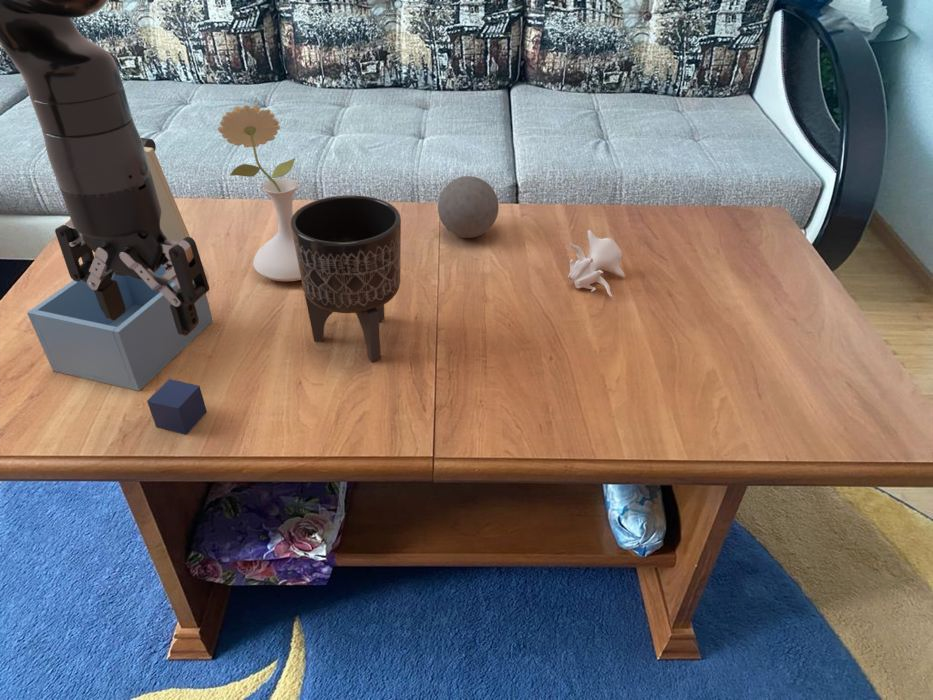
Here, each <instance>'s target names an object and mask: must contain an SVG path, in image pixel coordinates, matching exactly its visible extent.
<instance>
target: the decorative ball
mask: <svg viewBox="0 0 933 700" xmlns="http://www.w3.org/2000/svg"><path fill="white" fill-rule="evenodd" d="M437 213H438V216H439V220H440V221H441V223H442V225H443V227H444V228H445V229H446V230H447V231H449V233H451V234H453V236H456V237H460V238H464V239H475V238H477V237H480V236H482V235H484V234H485V233H487V232H489V230H491V228H492V227H493V226H494V224H495V222H496V220H497V218H498V215H499V199H498V196H497V193H496V192H495V190H494V188H493V187H492V186H491V185H490V184H489V183H488V182H487V181H485V180H484V179H482V178H480V177H478V176H473V175H464V176H460V177H457V178H455V179H453V180H451V181H450V182H448V184H446V185H445V187H444V188H443V190H442V191H441V193H440V195H439V198H438V203H437Z"/></svg>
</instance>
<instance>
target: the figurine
mask: <svg viewBox="0 0 933 700" xmlns="http://www.w3.org/2000/svg"><path fill="white" fill-rule="evenodd" d="M587 239H588V245H589V246H588V247H589V248H588V249H589V251H588V254H587V257H586V254H585V253H584V252H583V249H581V247H580V246H578V245H576V244H573V243H572V242H571V241H569V246H570V247H571V248H572V249H574V250H575V251H576V252H577V253H575V254H576V257H577V258H578V259H577V260H576V261H575V262H574V258H571V259H570V261H569V263H568V264H569V273H568V275H567V278H568V279H569V280H571V281H572V282H573V283H574V287H575V288H576V289H582V288H583V289H586V290H590V293H592V292H594V291H596V287H595V286H593V285H592V284H594V283H597V284H598V285H602V286H603V287H604V288H605V290H606V292H607V295H608V296H609V297H611V298H612V297H613V294H612V292H611V286H610V284H609V282H607V281H606V280H605V279H604V277H602V276H601V275H602V274H604V271H605V272H609V273H612V274H614V275H616V276H618V277H621V278H625V277H626V274H625V272H624V271H623V270H622V268H621V261H622V259H623V252H622V249H621V248H620V247H619V245H618V244H617V243H616V241H614V240H613V239H612V238H610V237H604V238H600V237H597V236H596V235H595V233H594V232H593V231H592V230H590V229H588V230H587Z"/></svg>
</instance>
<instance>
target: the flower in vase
mask: <svg viewBox="0 0 933 700" xmlns="http://www.w3.org/2000/svg"><path fill="white" fill-rule="evenodd" d="M275 116H276V115H275V114H274V113H272V111H271V109H261V107H260V106H259V105H258V104H254V105H252V106H251V107H250V105H248V104H244V105H243V106H242V107H240V106H234V107H233V109H232V111H226V112H225V115H223V116H222V117H221V120H220V122H219V124H220V126H218V127H217V130H218V132H219V133H220V134H221V137H222V138H223V139H226V142H227V143H229V144H230V145H234V146H235V147H240V146H243V147H244V148H252V149H253V154H254V159H255V163H256V165H252V164H250V163H249V164H248V163H242V164H240V165H239V164H238V165H237V166H236V167H235V168H233V170H232V171H231V173H230V176H238V177H247V178H253V177H255V176H256V175H257V174H258V173H260V172H262V173H263V174H264V175H265V177H267V178H268V180H267V181H265V182H264V183H263V184H262V186H261V188H262V190H263V191H264V192H265V193H266V194H267V195H268V196H269V197H270V199H271V201H272V203H273V206H274V209H275V212H276V217H277V225H278V227H277V232H276V234H275V235H274V236H273V237H271V238H270V239H269V240H268V241H266V242H265V243H264V244H263V245H261V247H260V248H259V249H258V250H257V251H256V253H255V255H254V257H253V263H252V265H253V269H255V271H256V272H257V273H259V274H260V275H261V276H262V277H264V278H266V279H269V280H272V281H275V282H276V281H277V282H295V281H302V280H301V275H300V270H299V265H298V260H297V255H296V250H295V245H294V240H293V235H292V230H291V225H290V222H291V218H292V216H293V215H294V214H293V213H294V212H293V199H294V196H295V192H296V190H297V189H298V187H299V182H298V181H297V180H295V179H294V178H293V179H292V178H288V177H284V176H286V175H287V174H288V173H289V172H290V171H291V170H292V168H293V166H294V164H295V161H296V157H293V158H291V159H289V160H287V161H284V162H281V163H279V164H278V165H276V166H275V168H274V170H273V171H272V173H271V174H272V175H271V176H270V174H268V172H267V171H266V170H264V168H263V167H262V165H261V164H260V162H259V158H258V154H257V150H256V148H257V147H259V146H260V145H262V146H263V145H264V146H265V145H266V144H267V143H268V142H271V141H272V142H273V141H274V140H275V139H276V135H278V133H279V132H278V131H279V130H280V129H281V126H280V125H279V124H280V122H279V120H278V119H276V117H275Z"/></svg>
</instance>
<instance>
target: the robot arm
mask: <svg viewBox="0 0 933 700" xmlns="http://www.w3.org/2000/svg"><path fill="white" fill-rule="evenodd" d="M108 2H109V0H0V45H1V46H2V48H3V50H4V51H5V53H6V55H7V56H8V57H9V58H10V60H11V61H12V63H13V64H14V65H15V67H16V68H17V70H18V71H19V73H20V75H21V77H22V79H23V81H24V84H25V88H26V91H27V93H28V96H29V99H30V101H31V104H32V108H33V110H34V113H35V115H36V118H37V121H38V123H39V126H40V128H41V131H42V132H41V133H42V135H43V140H44V145H45V150H46V154H47V157H48V161H49V163H50V166H51V169H52V171H53V174H54V177H55V180H56V182H57V185H58V188H59V190H60V193H61V197H62V200H63V201H64V204H65V207H66V209H67V212H68V215H69V218H70V220H68V221H66V222H65V223H63V224H62V225H60V226H58V227H56V228H55V230H54V233H55V236H56V239H57V242H58V244H59V247H60V248H59V249H60V250H61V251H60V252H61V254H62V257H63V259H64V263H65V265H66V268H67V271H68V274H69V277H70V278H71V280H72V281H73V280H74V281H76V282H79V281H81V280H83V281H85V282H87V285H88V287H89V288H90V289H92V290H94V292H95V295H96V297H97V300H98V303H99V306H100V308H101V310H102V311H103V313H104V314H105V317H106V318H107V319H109V320H116V319H117V318H119V317H120V316H121V315H122V314H124V313H125V311H126V307H125V304H124V301H123V298H122V295H121V292H120V289H119V286H118V284H117V281H115V280H111V279H112V278H113V277H114V275H120V276H126V275H129V276H131V277H134V278H136V279H141V280H144V281H145V282H146V284H147V285H148V286H149V287H150V288H151V289H152V290H158V291H160V292H161V293H162V294H163V295H164V296H165V298H166V299H167V300H168V301H169V302H170V303H171V305H170V309H171V312H172V315H173V319H174V322H175V325H176V329H177V332H178V334H180V335H185V336H187V335H188V334H189V333H190V332H191V331H192V330H193V329H194V328H195V327H196V325H197V324H198V322H199V319H198V316H197V311H196V308H195V304H194V303H195V302H196V301H197V300H198V299H199V298H200V297H202V296H203V295H204V294H205V293H206V294H207V293H208V292H209V291H210V285H209V281H208V278H207V275H206V272H205V269H204V266H203V263H202V259H201V256H200V252H199V250H198V247H197V246H198V245H197V242H196V241H195V240H194V239H193V237H191V236H190V237H186V238H184V239H183V240H181V241H174V240H168V239H167V238H166V236H165V235H164V234H163V232H162V230H161V228H160V218H161V207H160V204H159V200H158V196H157V193H156V189H155V186H154V182H153V178H152V175H151V171H150V168H149V164H148V160H147V157H146V153H145V150H144V146H143V143H142V140H141V138H142V137H141V135H140V133H139V131H138V129H137V126H136V124H135V121H134V118H133V116H132V115H133V114H132V111H131V109H130V104H129V100H128V97H127V94H126V90H125V86H124V83H123V80H122V77H121V76H122V75H121V73H120V70H119V67H118V66H117V63H116V61H115V59H114V57H113V56H112V54H111V53H110V52H108V51H107V50H106V49H105V48H103V47H101V46H100V45H98V44H96V43H94V42H92V41H90V40H89V39H87V38H86V37H84V36H83V34H81V33H80V31H79V30H78V28H77V27H76V25H75V23H74V21H73V19H77V18H85V17H88V16H91V15H93V14H95V13H97V12H99V11H100V10H101V9H103V8H104V7H105V6H106V4H107V3H108ZM140 137H141V138H140ZM80 259H81V261H82V263H81V264H80ZM161 264H162V265H163V266H164V267H165V269H166V272H165V274H163V275H162V276H160V277H159V276H156V275H155V274H154V272H156V271H157V270H158V269H159V268H160V266H161ZM169 280H171V281H173V283H174V284H175V285H176V286H177V287H178V288H179V289H178V290H177V291H175V290H174V289H173V288H172V287H171V285H170V284H169ZM193 280H194V283H195V284H193Z"/></svg>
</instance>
